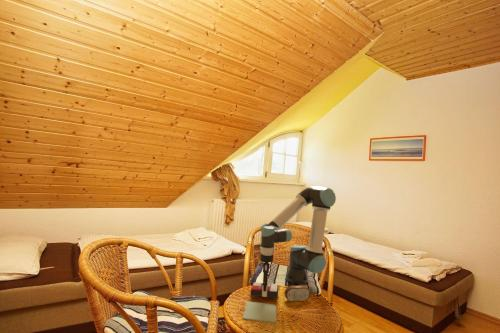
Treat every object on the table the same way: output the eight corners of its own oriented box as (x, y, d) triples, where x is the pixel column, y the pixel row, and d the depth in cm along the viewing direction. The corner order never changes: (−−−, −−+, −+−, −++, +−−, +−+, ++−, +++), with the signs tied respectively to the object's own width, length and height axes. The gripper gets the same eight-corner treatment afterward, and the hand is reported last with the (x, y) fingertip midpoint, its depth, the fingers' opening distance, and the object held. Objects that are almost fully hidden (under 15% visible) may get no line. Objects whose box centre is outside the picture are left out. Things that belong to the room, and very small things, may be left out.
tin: (307, 299, 166) (309, 284, 166) (310, 301, 163) (311, 286, 163) (283, 300, 162) (284, 285, 162) (285, 302, 159) (286, 287, 159)
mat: (276, 305, 154) (276, 304, 154) (275, 323, 137) (276, 321, 137) (246, 302, 156) (246, 301, 156) (242, 319, 138) (242, 317, 138)
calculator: (253, 281, 171) (278, 283, 169) (253, 288, 171) (278, 290, 169) (250, 289, 160) (277, 290, 158) (250, 296, 160) (277, 298, 158)
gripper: (261, 247, 177) (259, 283, 176) (259, 259, 153) (256, 300, 153) (273, 248, 176) (271, 284, 176) (273, 260, 152) (270, 301, 152)
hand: (264, 291), depth 164 cm, fingers closed on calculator, 11 cm apart
